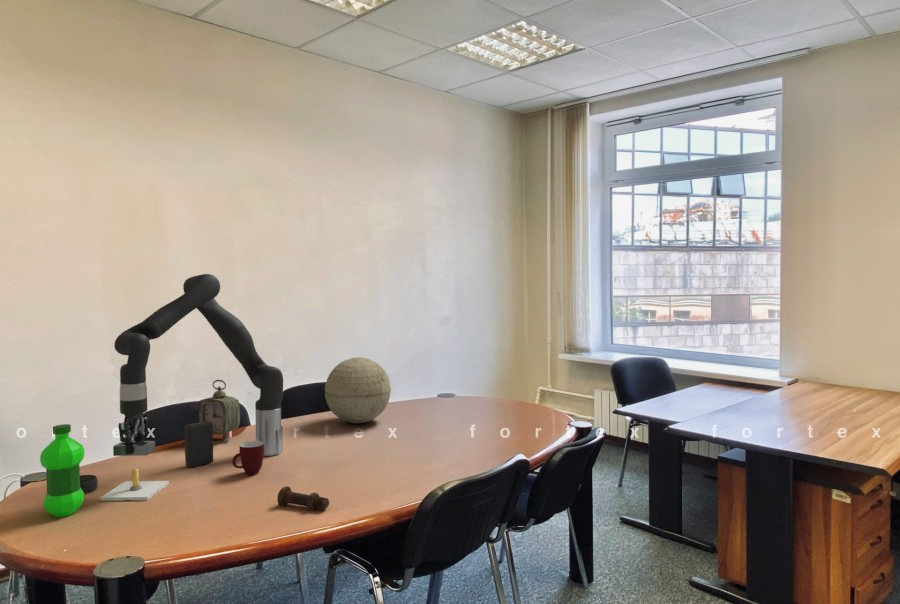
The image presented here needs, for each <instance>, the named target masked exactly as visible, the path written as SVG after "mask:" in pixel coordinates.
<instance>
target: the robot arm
mask: <svg viewBox="0 0 900 604" xmlns="http://www.w3.org/2000/svg"><path fill="white" fill-rule="evenodd" d="M182 286H183V287H182V288H183V294H182V295H180V296H179V297H177V298H175V299H173V300H172V301H170V302H168V303H166V304H165V305H162V306H161V307H160V308H158V309H157V310H155V311H154V312H153V313H151V314H150V315H149V316H147V317H146V318H145V319H144V320H143V321H141V322H139V323H137V324H135V325H133V326H131V327H130V328H128V329H126V330H124V331H123V332H121V333H120V334H119V335H118V336H117V338H115V341H114V347H113V348H114V350H115V351H116V352H117V353H118V354H120V355H122V356H128V357H127V362H126V363H124V364H122V365H121V367H120V370H119V380H120V384H119V413H120V414H121V415H124V419H123V422H119V423H118V433H119V441H120V442H125V453H126V454H133V453H134V442H133V441H145V438H144V436H145V435H146V433H148V432H149V415H150V414H149V413H146V412H147V411H148V387H147V377H146V376H147V372H146V371H147V370H146V368H147V366H148V362H149V358H150V357H149V356H150V354H151V353H150V352H151V342H150V341H151V340H155V339H156V340H157V339H159V338H160V337H162V336H163V335H164V334H166V333H167V332H168V331H169V330H170V329H171V328H172V327H174V326H175V325H176V324H177V323H179V322H180V321H181V320H182V319H184V318H185V317H186V316H187V315H189V314H190V313H192V312H193V311H194V310H196V309H197V311H199V312H200V314H201V315H203V317H204V318H205V319H206V321H207V322H208V323H209V325H210V326H211V327H212V329H214V332H216V333H217V335H218V336H219V339H220V340H221V341H222V343H224V345H225V346H226V348H227V349H228V350H229V351H230V352H231V353H232V355H233V356H234V358H235V359H236V360H237V361H238V362H239V364H240V365H241V366H242V368H243V370H244V371H245V373H246V374H247V376H248V378H249V379H250V381H251V383H252V384H253V386H254V387H256V388H257V389H259V390H260V391H259V393H260V394H259V399H257V400H256V401H255V402H254V403H255V406H254V407H255V441H262V442H264V457H269V456H270V457H271V456H276V455H277V456H278V455H280V454H281V453H282V452H283V451H284V442H283V441H284V439H283V438H284V437H283V436H284V435H283V434H284V433H283V431H284V428H283V425H282V405H281V404H282V402H283V397H284V375H283V373H282V371H281V369H279V368H278V367H275V366H272V365H268V364H267V363H266V362H265V361H264V360H263V358H261V356H260V355H259V354H258V352H257V350H256V347H255V343H254V339H253V337H252V335H251V333H250V332H249V330H248V329H247V327H246V326H245V325H244V324H243V322H242V321H241V320H240V319H239V318H238V317H237V316H235V315H234V314H232V313H231V312H229V311H228V310H226V309H225V308H223V307H222V306H221V305H220V303H218V301H217V300H216V297H217V296H218V295H219V293H220V292H221V282H220V280H219V279H218V278H217V277H216V276H215V275H213V274H210V273H202V274H198V275H193V276H190V277H188V278H187V279H185V281H184V282H183V285H182ZM134 439H135V440H134Z"/></svg>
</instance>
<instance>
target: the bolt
mask: <svg viewBox="0 0 900 604" xmlns="http://www.w3.org/2000/svg"><path fill="white" fill-rule="evenodd" d="M291 489H292V488H291V487H290V486H283V487H282V488H280V490H279V491H278V494H277V504H278V506H280V507H285V506H288V504H291V505H297V506H302V507H306V508H307V509H308V510H309V511H315V510H316V509H318V510H319V509H320V510H326V509H327V508H329V505H330V499H329V498H328V497H323V496H320V495H319V493H318V492H312V493H310V494H305V493H300V492H294V491H292V490H291Z"/></svg>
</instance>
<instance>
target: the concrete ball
mask: <svg viewBox="0 0 900 604" xmlns="http://www.w3.org/2000/svg"><path fill="white" fill-rule="evenodd" d="M330 371H331V372H330V373H329V375H328V376H327V378H326V380H325V381H326V382H325V386H324V396H325V401H326V404H327V406H328V408H329V410H330V411H331V412H332V414H334V416H336V417H337V418H338V419H340V420H341V421H344V422H346V423H349V424H363V423H368V422H371V421H373V420H374V419H376V418H377V417H379V416H380V415H381V414H382V413H383V412H384V410H385V409H386V408H387V406H388V404H389V402H390V398H391V391H392V388H391V381H390V378H389V375H388V374H387V372H386V370H385V369H384V368H383V366H381V365H380V364H378V362H376V361H374V360H372V359H370V358H365V357H359V356H358V357H352V358H348V359H344V360H343V361H340V362H339V363H338V364H337V365H336V366H334V368H333V369H332V370H330Z"/></svg>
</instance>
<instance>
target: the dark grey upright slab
mask: <svg viewBox="0 0 900 604" xmlns="http://www.w3.org/2000/svg"><path fill="white" fill-rule="evenodd" d="M183 429H184V436H183V437H184V459H185V460H184V461H185V467H187V468H194V467H193V466H195V467H198V465H199V466H203V464H204V465H207V463H208V464H212V463H213V462H214V434H213V423H212V422H211V421H204V422H199V421H198V422H194V423H193V422H192V423H188V424H187V423H186V425H184V428H183Z"/></svg>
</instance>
